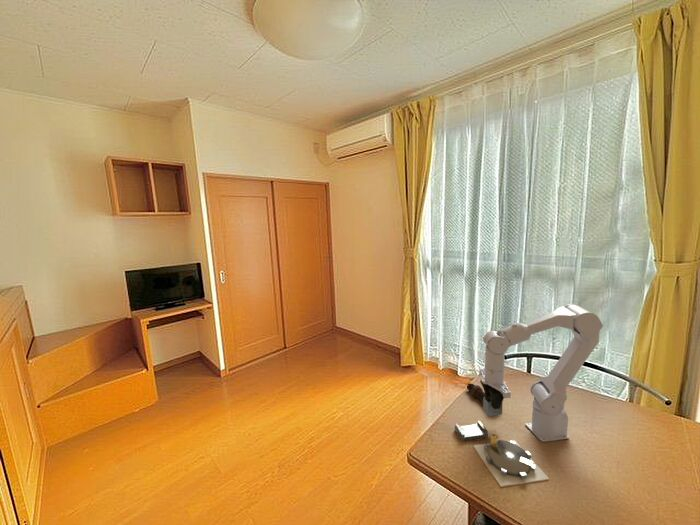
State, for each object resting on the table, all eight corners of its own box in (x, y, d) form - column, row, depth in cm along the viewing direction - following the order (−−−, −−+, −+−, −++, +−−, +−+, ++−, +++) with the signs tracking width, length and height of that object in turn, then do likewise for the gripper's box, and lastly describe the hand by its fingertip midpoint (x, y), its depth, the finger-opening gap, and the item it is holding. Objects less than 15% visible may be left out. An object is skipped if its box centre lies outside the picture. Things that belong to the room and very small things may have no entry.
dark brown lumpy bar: (471, 394, 120) (497, 416, 106) (461, 390, 119) (487, 412, 105) (476, 381, 121) (504, 401, 106) (467, 377, 119) (494, 397, 105)
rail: (479, 427, 99) (479, 420, 99) (488, 438, 94) (488, 431, 94) (454, 430, 98) (454, 423, 98) (461, 441, 93) (462, 434, 93)
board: (514, 441, 92) (514, 439, 92) (548, 479, 79) (549, 478, 78) (473, 446, 91) (473, 445, 91) (500, 487, 77) (500, 485, 77)
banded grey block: (496, 408, 100) (497, 395, 99) (502, 414, 97) (502, 400, 96) (483, 410, 99) (483, 396, 98) (488, 416, 96) (488, 402, 95)
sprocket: (490, 436, 94) (490, 420, 93) (538, 456, 85) (539, 438, 85) (478, 463, 84) (478, 446, 83) (531, 489, 75) (532, 469, 75)
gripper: (471, 358, 102) (470, 393, 104) (496, 380, 88) (494, 420, 90) (490, 356, 103) (489, 391, 105) (517, 378, 89) (515, 418, 91)
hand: (493, 404), depth 98 cm, fingers closed on banded grey block, 3 cm apart
